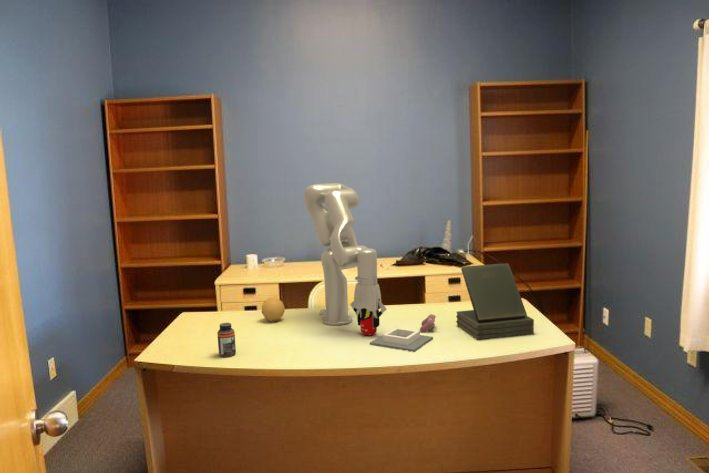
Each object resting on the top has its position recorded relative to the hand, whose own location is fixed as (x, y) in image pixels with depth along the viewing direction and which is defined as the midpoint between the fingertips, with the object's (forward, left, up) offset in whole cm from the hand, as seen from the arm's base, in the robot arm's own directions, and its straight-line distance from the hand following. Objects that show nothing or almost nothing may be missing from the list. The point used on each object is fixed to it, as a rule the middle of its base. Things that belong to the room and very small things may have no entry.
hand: (368, 325), depth 203 cm
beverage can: (0, 0, -3) cm, 3 cm away
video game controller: (+18, +16, -4) cm, 24 cm away
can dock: (+16, -2, -4) cm, 16 cm away
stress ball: (-47, -1, -4) cm, 48 cm away
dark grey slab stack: (+41, +26, -4) cm, 49 cm away
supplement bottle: (-33, -42, -4) cm, 54 cm away
